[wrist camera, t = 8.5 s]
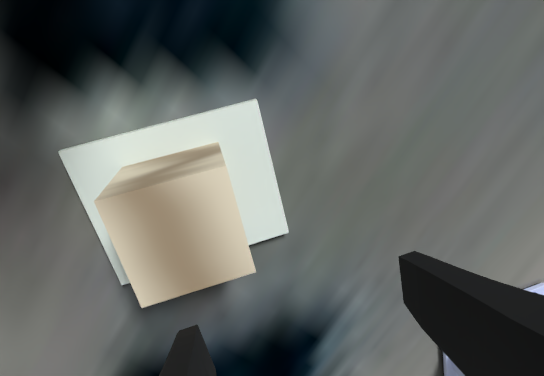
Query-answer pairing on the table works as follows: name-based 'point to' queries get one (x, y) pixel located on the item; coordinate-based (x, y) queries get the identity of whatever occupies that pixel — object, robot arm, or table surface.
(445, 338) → the robot arm
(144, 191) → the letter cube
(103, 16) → the table surface
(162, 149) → the sage pad
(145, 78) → the table surface
